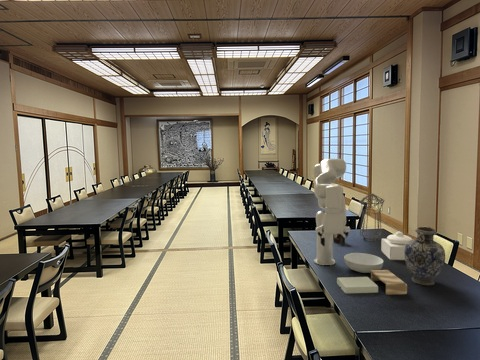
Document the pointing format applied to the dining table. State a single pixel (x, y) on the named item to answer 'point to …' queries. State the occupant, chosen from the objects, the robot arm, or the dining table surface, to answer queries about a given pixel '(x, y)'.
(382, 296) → the dining table surface
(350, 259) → the serving bowl
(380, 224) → the geometric lantern
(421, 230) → the decorative vase
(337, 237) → the coffee mug
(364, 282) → the pale green flat slab
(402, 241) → the butter dish
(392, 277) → the overhang
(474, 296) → the dining table surface
